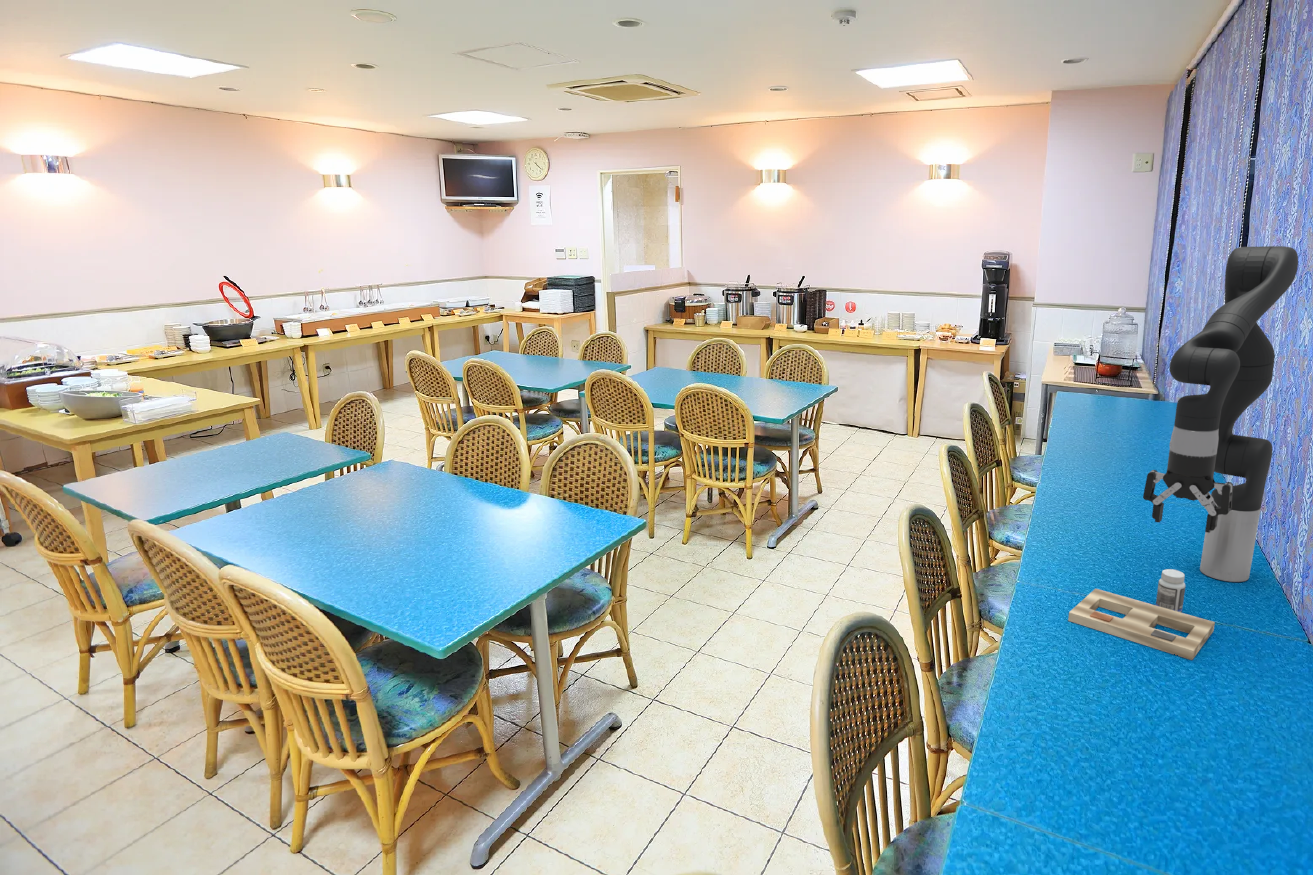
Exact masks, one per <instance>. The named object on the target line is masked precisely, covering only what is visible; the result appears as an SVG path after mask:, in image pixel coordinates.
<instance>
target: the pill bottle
mask: <svg viewBox="0 0 1313 875" xmlns="http://www.w3.org/2000/svg"><path fill="white" fill-rule="evenodd" d="M1156 593H1157V594H1156V600H1155V601H1156V602H1155V605H1156V606H1159V607H1163V608H1166V609H1170V610H1174V611H1177V612H1181V613H1182V611H1183V606H1184V600H1185V599H1184V598H1185V593H1186V583H1185V573H1184V572H1182V571H1180V570H1178V569H1172V568H1167V569H1163V570H1162V572H1161V578H1160V579H1159V580H1158V585H1157V591H1156Z"/></svg>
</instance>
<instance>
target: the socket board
mask: <svg viewBox="0 0 1313 875" xmlns="http://www.w3.org/2000/svg"><path fill="white" fill-rule="evenodd" d="M1098 608H1102V609H1106V610H1109V611H1111V612H1115V613H1120V614H1123V615H1125V616H1124V617H1122V618H1121V617H1118V616H1114V615H1110V614H1107V613H1105V612H1101V611H1098ZM1067 621H1068V622H1071V623H1074V624H1077V625H1081V626H1084V627H1086V628H1090V629H1093V630H1096V631H1100V632H1103V633H1104V634H1105V633H1106V634H1109V635H1112V636H1115V637H1118V638H1121V639H1123V640H1127V641H1131V642H1134V643H1137V644H1140V645H1143V646H1147V647H1148V648H1149V647H1150V648H1152V649H1156V650H1159V651H1161V652H1166V653H1168V654H1171V655H1174V654H1175V656H1177V655H1178V656H1177V657H1180V658H1184V659H1187V660H1190V661H1193V660H1194V658H1195V657H1196V656H1197V654H1198V653H1199V651H1200V650H1201V649H1202V647H1203V646H1204V645H1205V643H1206V642H1207V641H1208V639H1209V638H1210V636H1211V635H1212V634H1213V633H1214V630H1215V623H1216V622H1215V621H1213V620H1208V619H1204V618H1201V617H1198V616H1194V615H1190V614H1187V613H1184V612H1182V611H1181V612H1177V611H1174V610H1170V609H1166V608H1163V607H1159V606H1156V604H1151V603H1148V602H1145V601H1141V600H1137V599H1134V598H1131V597H1128V596H1124V595H1119V594H1116V593H1114V592H1113V593H1112V592H1110V591H1105V590H1102V589H1099V588H1094V589H1093V590H1092V591H1091V592H1090V593H1089V594H1087V596H1086V597H1085V598H1083V599H1082V600H1081V601H1080V602H1079V603H1078V604H1077V605H1076V606H1074V607H1073V608H1072V609H1070V611H1069V612H1068V620H1067ZM1157 625H1160V626H1163V627H1166V628H1170V629H1172V630H1176V631H1180V632H1183V633H1187V634H1188V635H1187V636H1186V637H1184V636H1180V635H1177V634H1174V633H1171V632H1167V631H1164V630H1161V629H1158V628H1157V629H1156V628H1155V627H1156V626H1157Z"/></svg>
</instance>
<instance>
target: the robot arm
mask: <svg viewBox="0 0 1313 875" xmlns="http://www.w3.org/2000/svg"><path fill="white" fill-rule="evenodd" d="M1298 267H1299V255H1298V252H1297V251H1296V249H1295V248H1293V247H1289V246H1283V245H1281V246H1280V245H1278V246H1277V245H1276V246H1275V245H1273V246H1266V245H1263V246H1240V247H1236V248H1234V249H1233V250H1232V251H1230V254H1229V256H1228V257H1227V261H1226V267H1225V272H1224V274H1225V275H1224V304H1223V305H1221V306H1220V307H1219V308H1217V310H1215V311H1214V312H1213V314H1212V315H1211V316H1210V317H1209V319H1208V320H1207V322H1206V323H1205V325H1204V326H1203V328H1202V330H1201V331H1200V332H1199V333H1197V334H1196V335H1194V336H1193V337H1192V338H1191V339H1189V340H1187V341H1186V342H1185V343H1184V344H1183V345H1181V346H1180V347H1179V348H1178V349H1177V350H1176V351H1175V353H1174V354H1173V355H1172V357H1171V359H1170V363H1169V374H1170V375H1171V377H1172V378H1173V380H1175V381H1177V382H1179V383H1184V384H1191V385H1192V384H1193V385H1201V386H1209V390H1208V391H1207V393H1202V394H1189V395H1184V396H1182V397H1180V398H1179V399H1178V400H1177V402H1176V403H1177V404H1176V408H1175V417H1174V424H1173V429H1172V432H1171V437H1170V441H1169V452H1168V459H1167V460H1168V461H1167V467H1166V472H1165V473H1162V472H1159V471H1158V470H1157V469H1152V470H1151V471H1149V472H1148V473H1147V474H1146V479H1145V480H1146V481H1145V484H1144V490H1143V493H1142V496H1143V497H1142V499H1143V500H1145V501H1149V502H1151V503H1152V514H1151V517H1152V519H1153V520H1154V522H1155V523H1161V521H1162V520H1163V513H1164V507H1165V505H1164V504H1165V503H1164V501H1165V500H1167V499H1168V498H1169V497H1170V496H1172V495H1173V496H1174V497H1175V498H1178V499H1186V500H1189V501H1193V502H1195V501H1197V500H1198V502H1199V503H1200V505H1201V506H1202V507H1204V509H1205V510H1206V512H1207V513H1208V514H1207V517H1206V522H1205V529H1204V532H1205V534H1204V540H1203V545H1202V546H1203V547H1202V553H1201V560H1200V566H1199V570H1200V572H1201V573H1202V574H1204V575H1205V576H1207V577H1210V578H1213V579H1216V580H1219V581H1224V582H1231V583H1241V582H1246V581H1248V580H1249V578H1250V574H1251V568H1252V563H1253V556H1254V550H1255V546H1256V539H1257V538H1256V537H1257V533H1258V526H1259V522H1260V521H1259V520H1260V514H1261V510H1262V503H1263V497H1264V494H1265V489H1266V488H1265V487H1266V483H1267V478H1268V474H1269V471H1270V467H1271V462H1272V458H1273V445H1272V442H1271V441H1270V440H1269V439H1266V438H1260V437H1253V436H1247V435H1246V436H1245V435H1238V434H1234V433H1233V431H1234V430H1233V428H1234V426H1235V423H1236V422H1237V420H1238V419H1239V418H1240V416H1241V415H1242V414H1243V413H1244V412H1245V411H1246V410H1247V409H1248V408H1249V407H1250V406H1251V405H1253V403H1255V401H1256V400H1258V398H1260V397H1261V396H1262V395H1263V394H1264V393H1265V392H1266V390H1267V389H1268V388H1269V387H1270V386H1271V383H1272V381H1273V375H1274V374H1273V373H1274V367H1275V366H1274V365H1275V358H1276V357H1275V355H1276V354H1275V349H1274V347H1273V345H1272V343H1271V341H1270V339H1269V338H1268V337H1267V335H1266V334H1265V331H1263V329H1262V328H1261V327H1260V325H1259V324H1258V321H1259V320H1260V319H1261V317H1263V315H1265V313H1267V312H1268V310H1269V309H1270V308H1271V307H1273V306H1274V305H1275V303H1276V302H1277V301H1278V300H1279V299H1280V298H1281V297H1282V296H1283V295H1284V294H1285V293H1286V292H1287V291H1288V289H1289V288H1290V287H1291V285H1292V284H1293V282H1294V280H1295V278H1296V275H1297V272H1298ZM1215 473H1218V474H1220V475H1221V474H1222V475H1227V476H1233V477H1239V478H1244V479H1245V482H1243V483H1241V484H1237V485H1234V483H1232V482H1231V481H1227V482H1225V483H1224V482H1218V481H1217V482H1216V481H1215V478H1214V474H1215ZM1161 480H1162V481H1163V483H1164V484H1165V486H1166V487H1167V488H1166V489H1165V490H1164V491H1163V492H1161V493H1160V494H1159V495H1157V494H1155V490H1156V489H1155V488H1156V484H1158V483H1159V482H1160V481H1161ZM1210 492H1211V493H1210Z"/></svg>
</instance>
